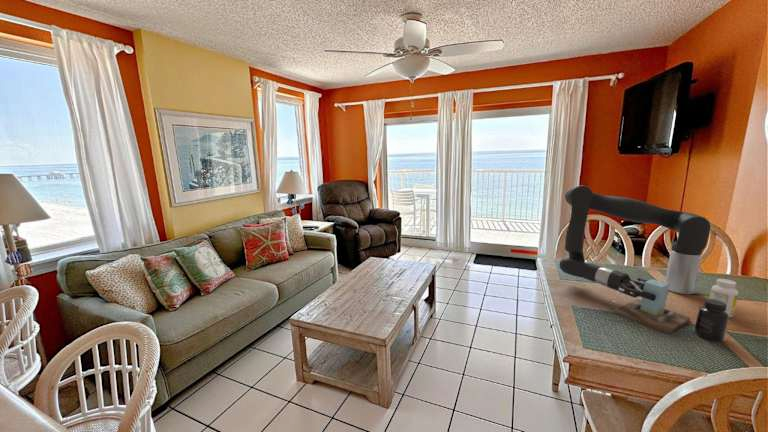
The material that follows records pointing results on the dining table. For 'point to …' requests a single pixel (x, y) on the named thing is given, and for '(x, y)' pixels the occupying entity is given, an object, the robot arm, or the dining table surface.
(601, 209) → the robot arm
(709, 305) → the supplement bottle
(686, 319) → the socket board
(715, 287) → the supplement bottle
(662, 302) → the peg
